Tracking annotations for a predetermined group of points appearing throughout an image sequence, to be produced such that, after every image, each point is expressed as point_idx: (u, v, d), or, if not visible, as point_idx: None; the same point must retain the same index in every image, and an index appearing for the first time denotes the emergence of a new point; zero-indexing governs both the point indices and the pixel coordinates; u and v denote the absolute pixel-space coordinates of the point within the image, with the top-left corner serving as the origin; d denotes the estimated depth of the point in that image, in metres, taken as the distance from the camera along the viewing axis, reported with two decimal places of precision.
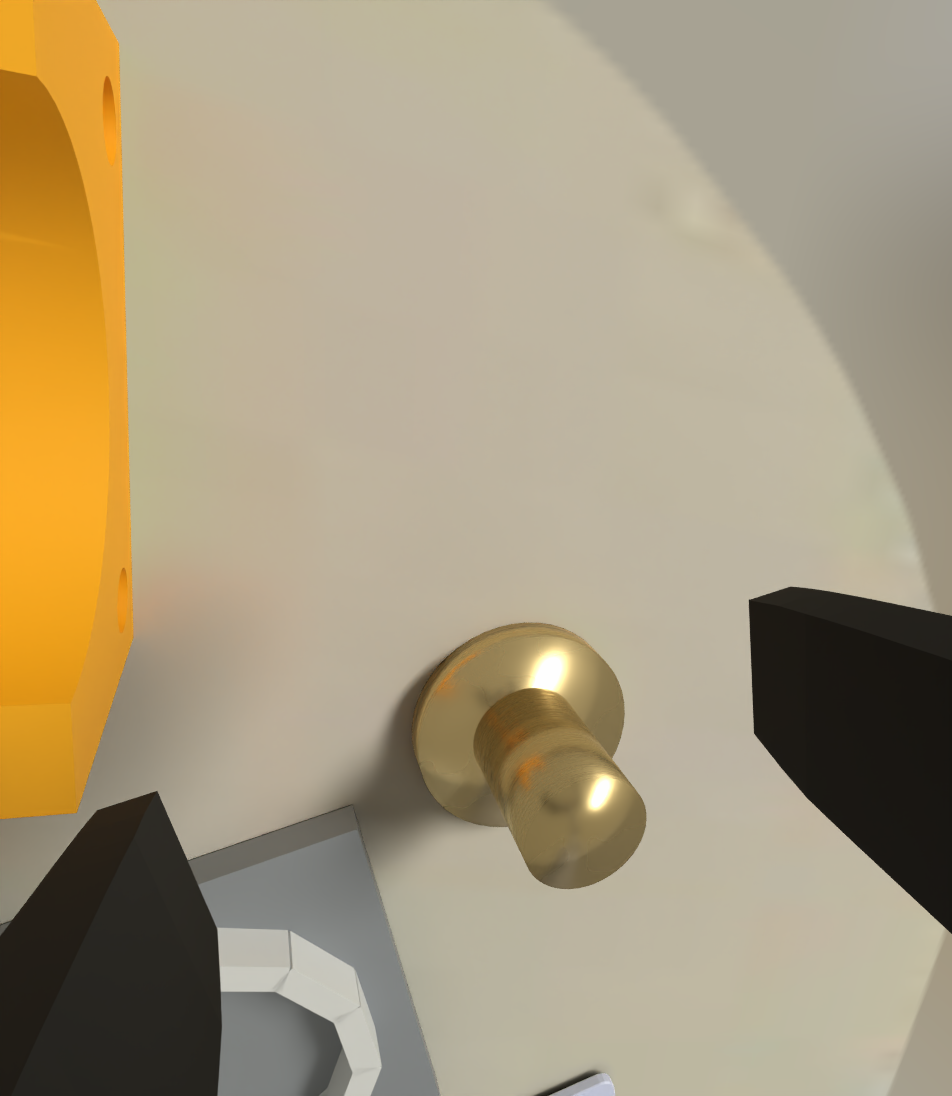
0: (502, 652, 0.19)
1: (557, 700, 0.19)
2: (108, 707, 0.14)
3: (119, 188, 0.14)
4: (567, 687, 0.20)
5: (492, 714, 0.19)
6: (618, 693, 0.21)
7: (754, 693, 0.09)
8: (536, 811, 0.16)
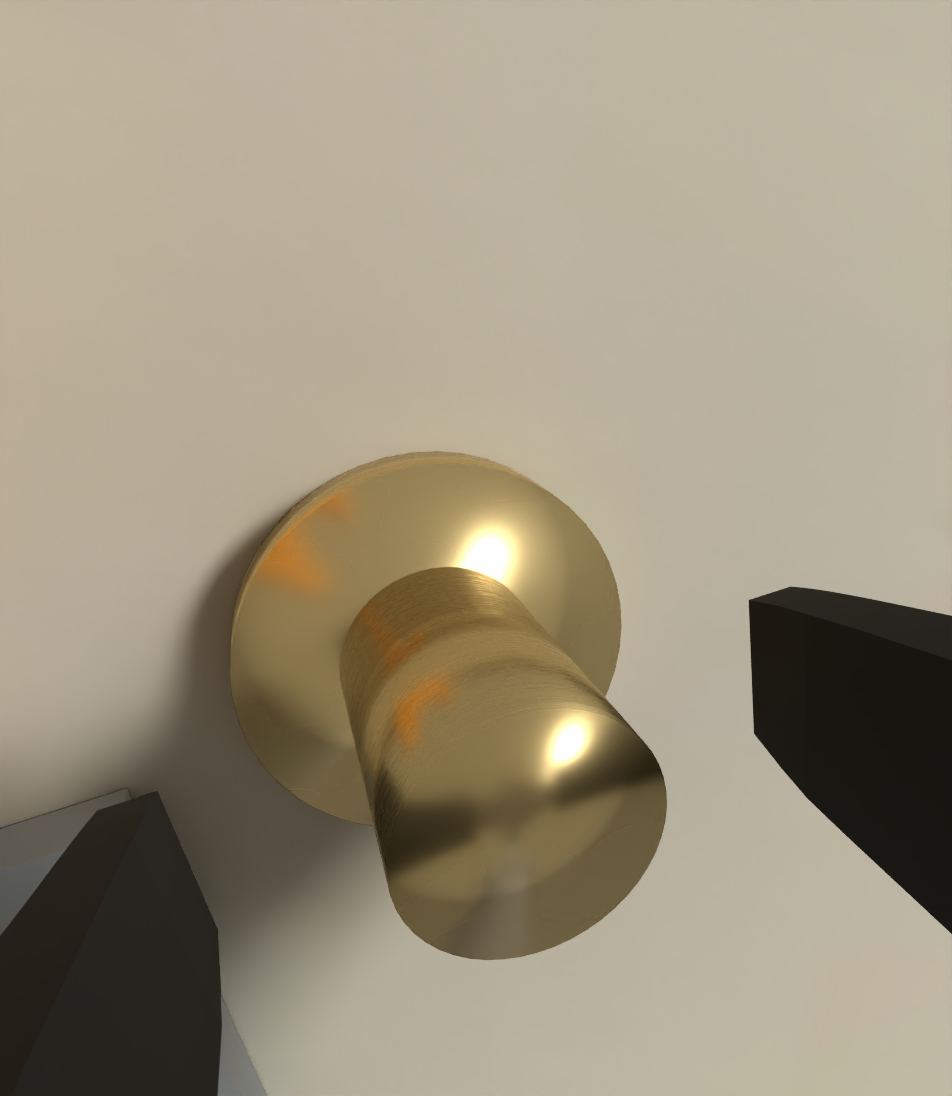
0: (385, 491, 0.10)
1: (493, 587, 0.10)
2: None
3: None
4: (515, 570, 0.11)
5: (368, 612, 0.10)
6: (609, 587, 0.11)
7: (754, 693, 0.09)
8: (411, 788, 0.07)
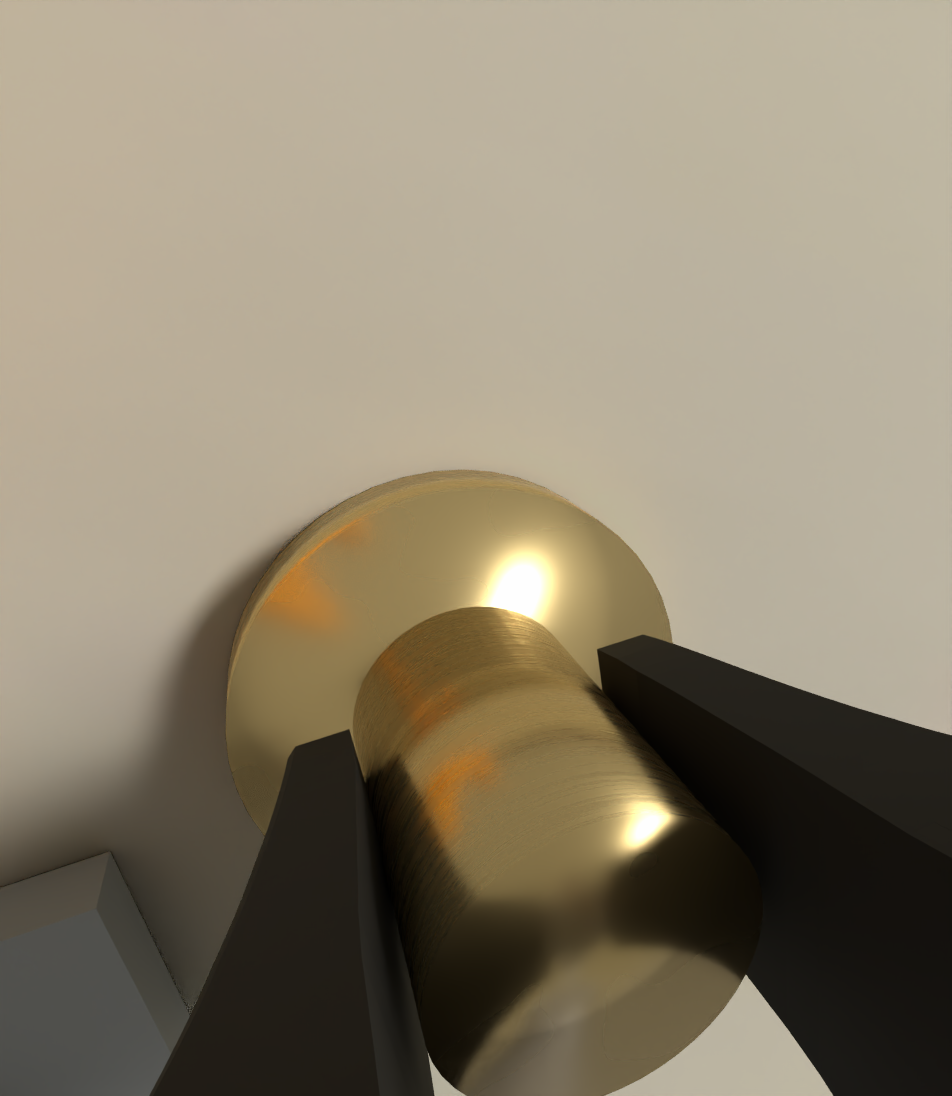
0: (407, 521, 0.08)
1: (532, 631, 0.09)
2: None
3: None
4: (555, 609, 0.09)
5: (387, 661, 0.09)
6: (661, 625, 0.10)
7: None
8: (454, 918, 0.05)
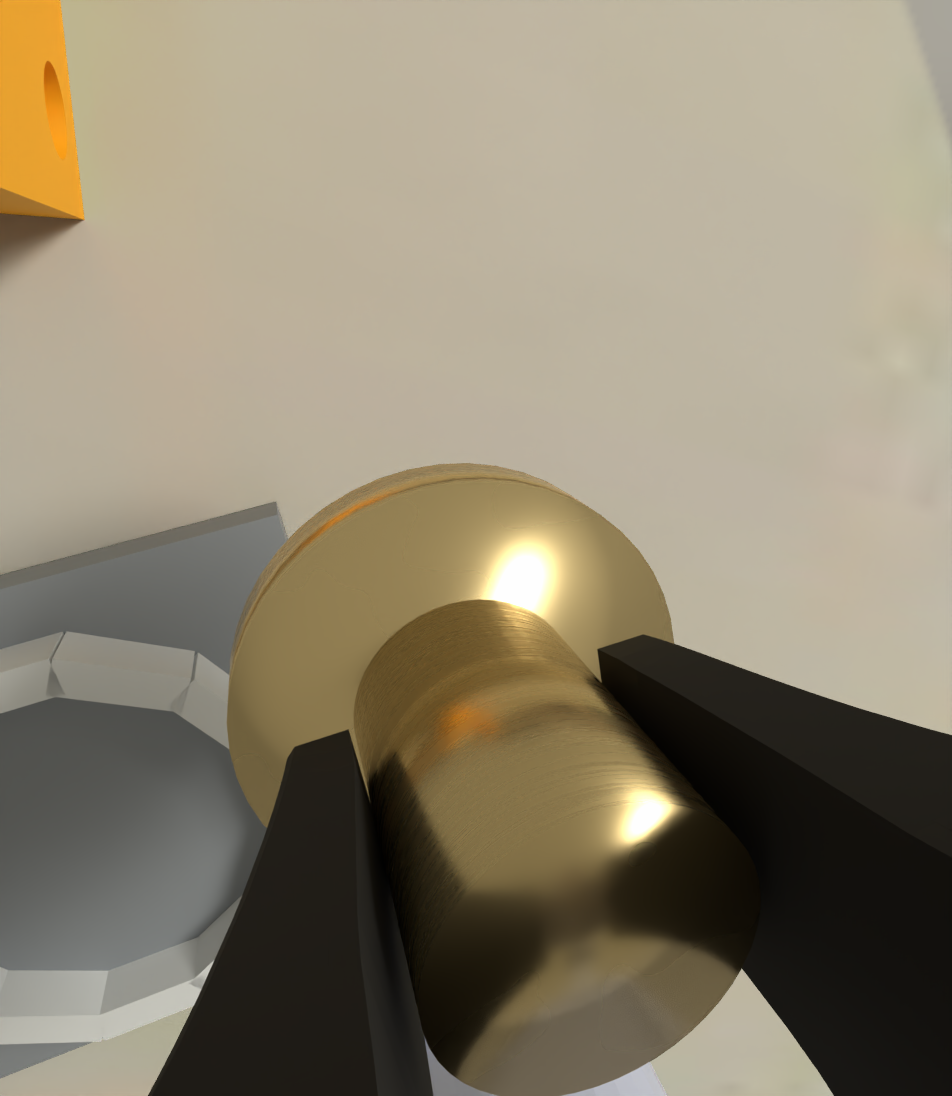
0: (411, 511, 0.08)
1: (534, 624, 0.09)
2: (35, 191, 0.10)
3: None
4: (557, 603, 0.09)
5: (389, 652, 0.09)
6: (662, 621, 0.10)
7: None
8: (452, 903, 0.05)
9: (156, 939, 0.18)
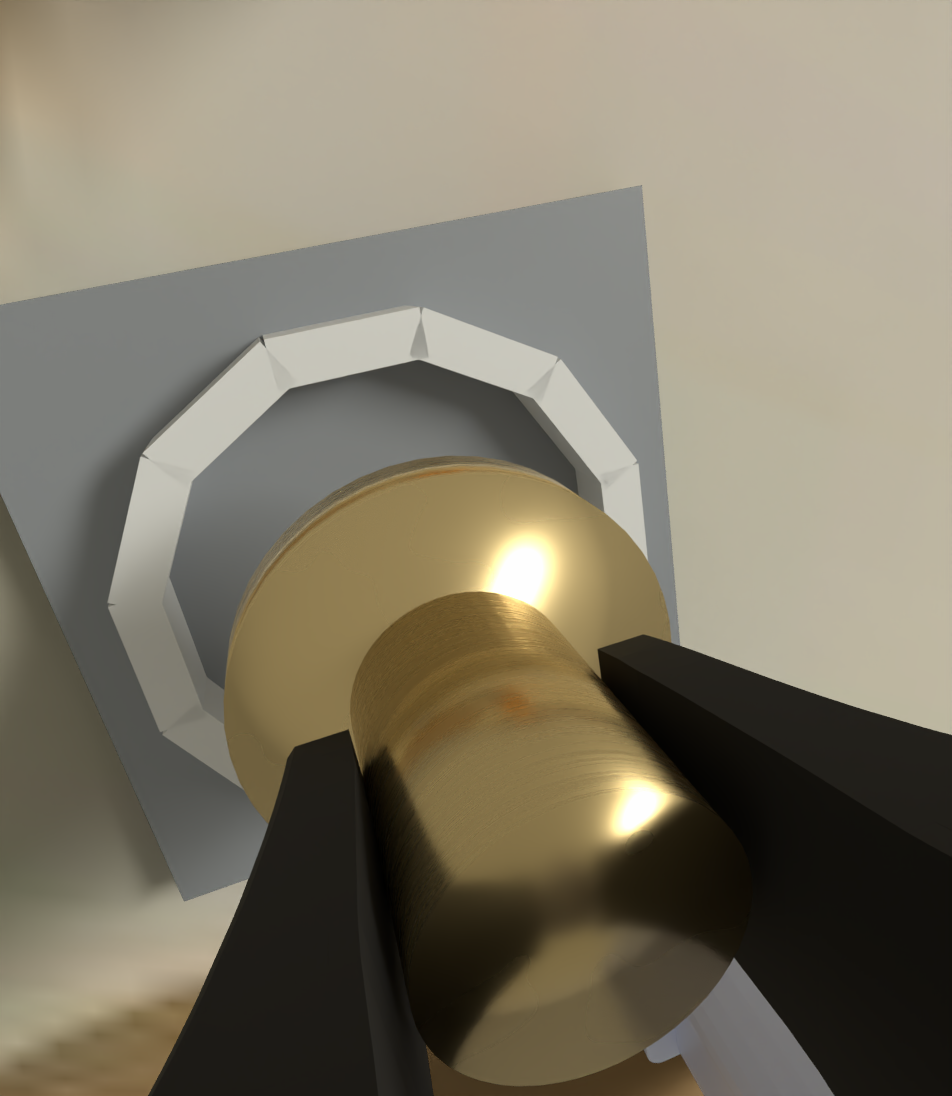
0: (421, 499, 0.09)
1: (536, 619, 0.09)
2: None
3: None
4: (558, 600, 0.09)
5: (390, 639, 0.09)
6: (661, 624, 0.10)
7: None
8: (450, 880, 0.05)
9: None
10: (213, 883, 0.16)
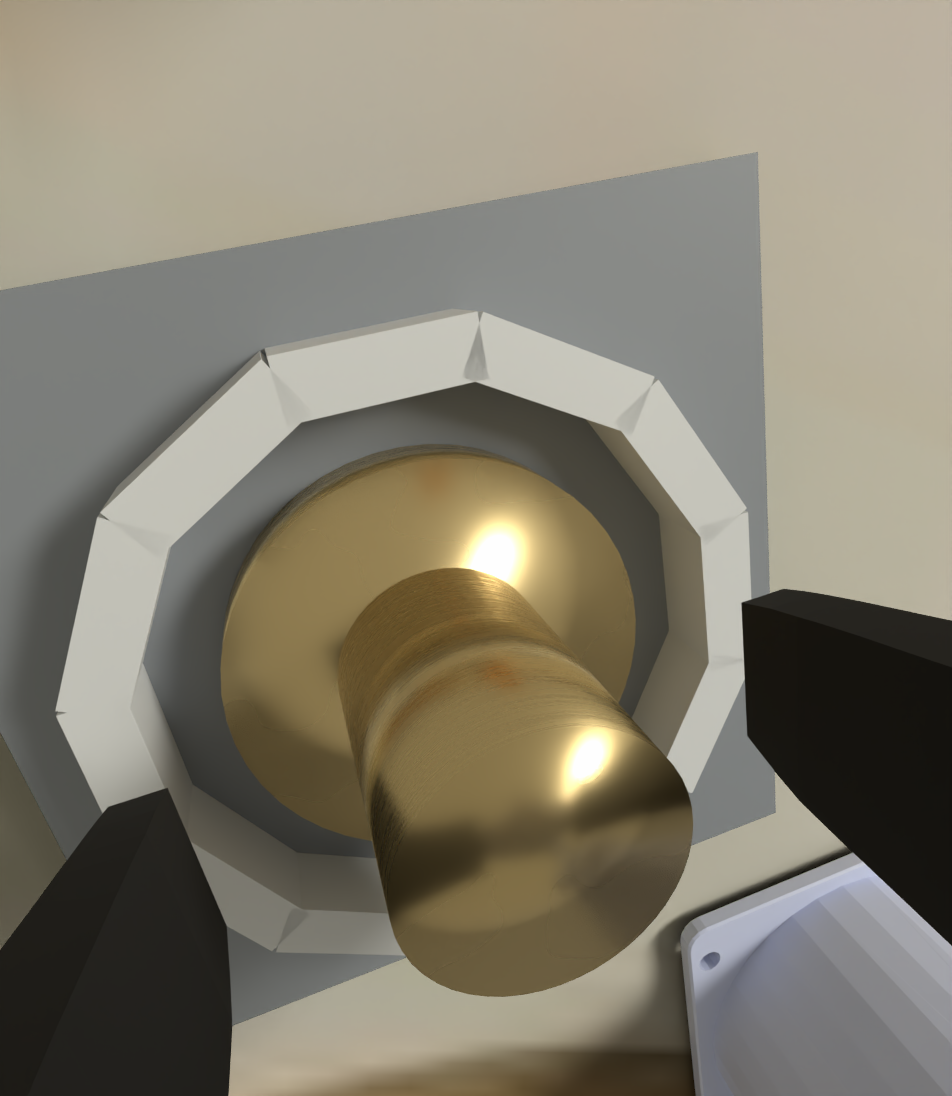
0: (400, 482, 0.09)
1: (508, 592, 0.10)
2: None
3: None
4: (530, 576, 0.10)
5: (374, 610, 0.09)
6: (625, 600, 0.11)
7: (747, 696, 0.09)
8: (422, 803, 0.06)
9: None
10: None
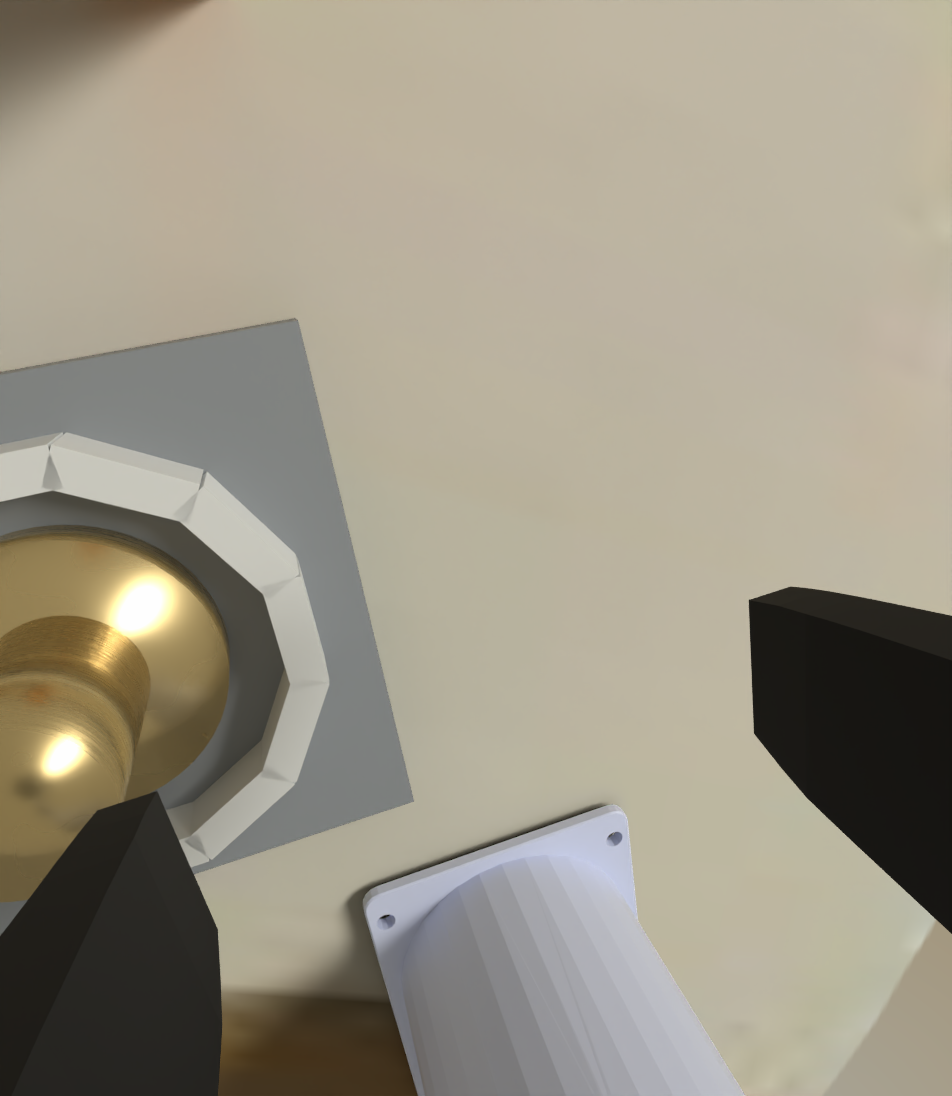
0: (10, 557, 0.13)
1: (94, 634, 0.14)
2: None
3: None
4: (128, 621, 0.14)
5: None
6: (214, 638, 0.15)
7: (754, 693, 0.09)
8: None
9: None
10: None
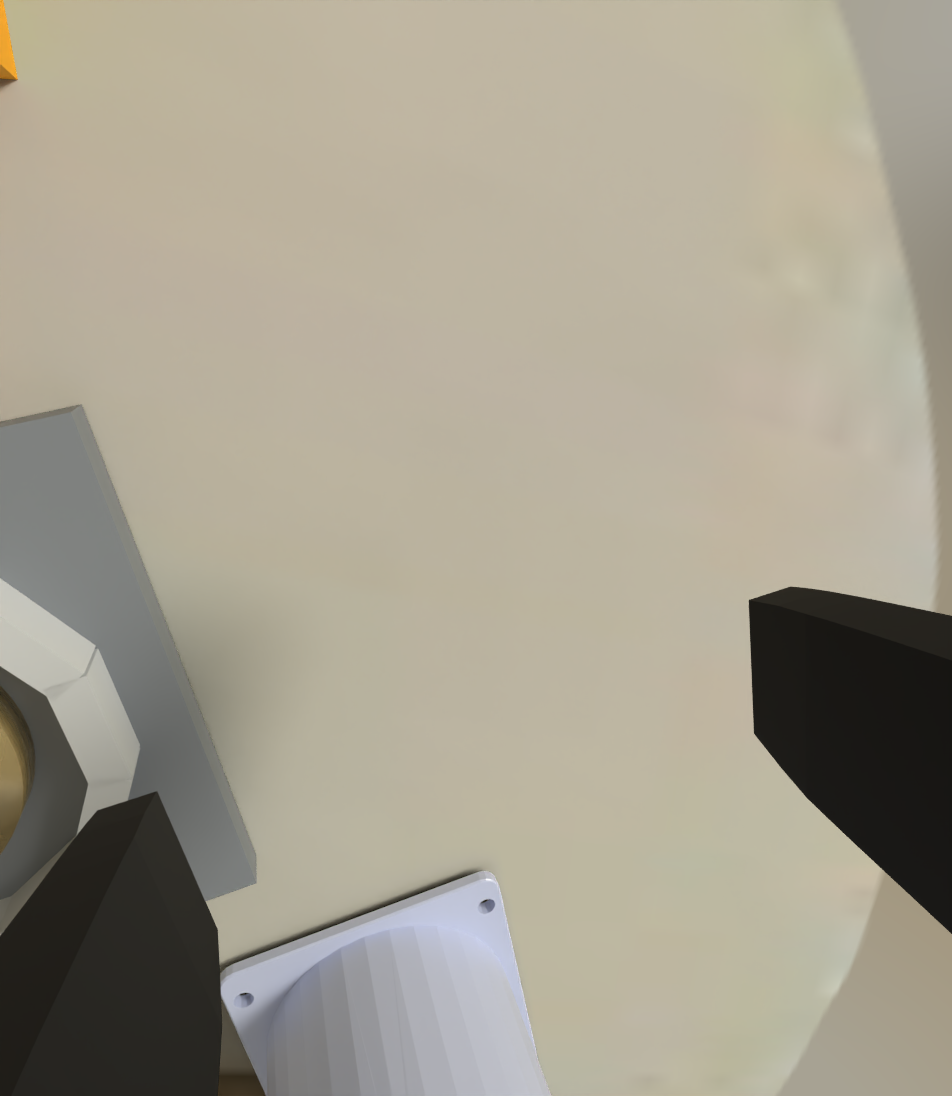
0: None
1: None
2: None
3: None
4: None
5: None
6: (1, 741, 0.14)
7: (754, 693, 0.09)
8: None
9: None
10: None
